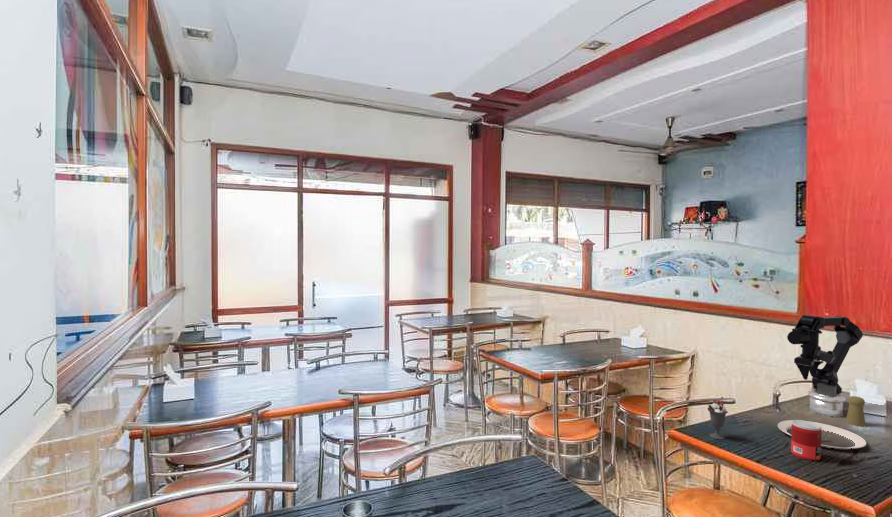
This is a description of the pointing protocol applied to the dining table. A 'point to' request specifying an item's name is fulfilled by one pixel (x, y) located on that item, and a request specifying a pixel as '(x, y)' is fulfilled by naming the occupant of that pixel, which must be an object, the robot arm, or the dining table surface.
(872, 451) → the dining table surface
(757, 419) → the dining table surface
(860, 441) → the plate
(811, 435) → the canned food
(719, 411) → the sundae
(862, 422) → the cork
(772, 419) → the dining table surface
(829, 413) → the cooker pot
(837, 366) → the robot arm
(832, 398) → the cooker lid
